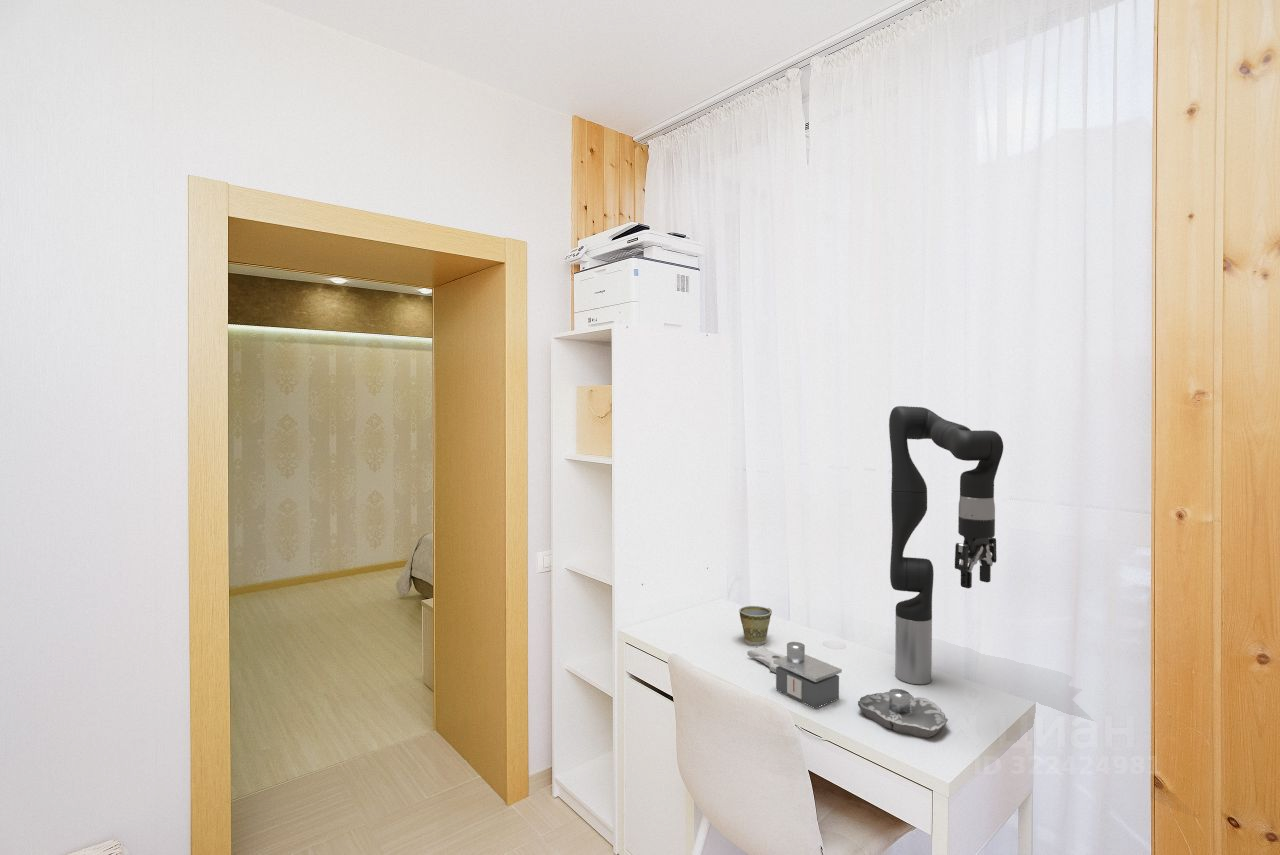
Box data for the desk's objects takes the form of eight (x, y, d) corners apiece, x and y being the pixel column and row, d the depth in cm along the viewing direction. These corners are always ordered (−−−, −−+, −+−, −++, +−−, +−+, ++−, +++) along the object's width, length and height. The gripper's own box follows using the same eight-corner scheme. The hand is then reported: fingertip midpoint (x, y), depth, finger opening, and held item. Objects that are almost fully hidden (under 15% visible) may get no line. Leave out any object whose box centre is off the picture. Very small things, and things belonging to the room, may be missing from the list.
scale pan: (773, 663, 166) (773, 660, 166) (799, 654, 171) (799, 651, 171) (815, 682, 154) (815, 679, 154) (841, 672, 160) (841, 669, 160)
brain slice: (958, 720, 150) (958, 708, 150) (934, 749, 137) (934, 735, 137) (877, 695, 163) (877, 684, 163) (849, 719, 151) (849, 707, 151)
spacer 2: (887, 704, 152) (887, 688, 152) (906, 705, 151) (907, 689, 151) (891, 713, 147) (892, 696, 147) (912, 714, 147) (912, 698, 146)
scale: (774, 690, 165) (774, 667, 165) (799, 680, 171) (799, 659, 171) (813, 709, 155) (813, 685, 154) (838, 698, 160) (839, 675, 160)
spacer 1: (786, 656, 169) (786, 641, 168) (803, 657, 168) (804, 642, 168) (787, 662, 164) (787, 647, 164) (805, 664, 163) (805, 648, 163)
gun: (740, 650, 184) (759, 642, 191) (739, 662, 184) (758, 653, 191) (795, 672, 171) (813, 661, 178) (794, 684, 171) (812, 673, 178)
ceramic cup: (756, 650, 193) (756, 618, 192) (732, 640, 200) (732, 610, 200) (783, 640, 201) (783, 609, 201) (759, 631, 209) (759, 601, 208)
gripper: (976, 521, 139) (976, 593, 139) (1008, 514, 147) (1007, 583, 147) (944, 516, 145) (943, 585, 145) (976, 510, 153) (975, 576, 153)
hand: (975, 584), depth 146 cm, fingers open, 8 cm apart
